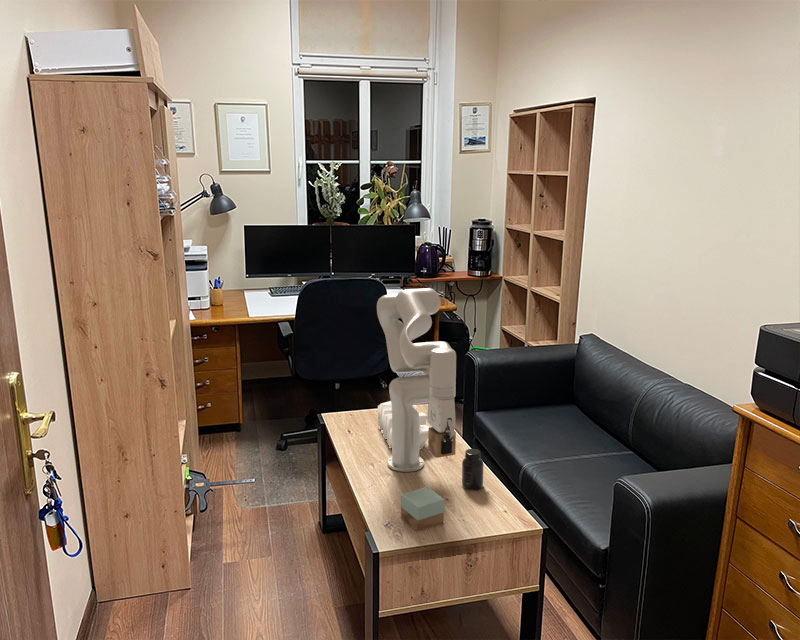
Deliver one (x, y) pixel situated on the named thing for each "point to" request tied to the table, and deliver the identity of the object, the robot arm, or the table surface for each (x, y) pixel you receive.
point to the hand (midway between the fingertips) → (441, 448)
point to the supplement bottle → (472, 470)
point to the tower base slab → (422, 521)
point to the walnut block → (438, 442)
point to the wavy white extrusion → (386, 423)
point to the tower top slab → (422, 503)
